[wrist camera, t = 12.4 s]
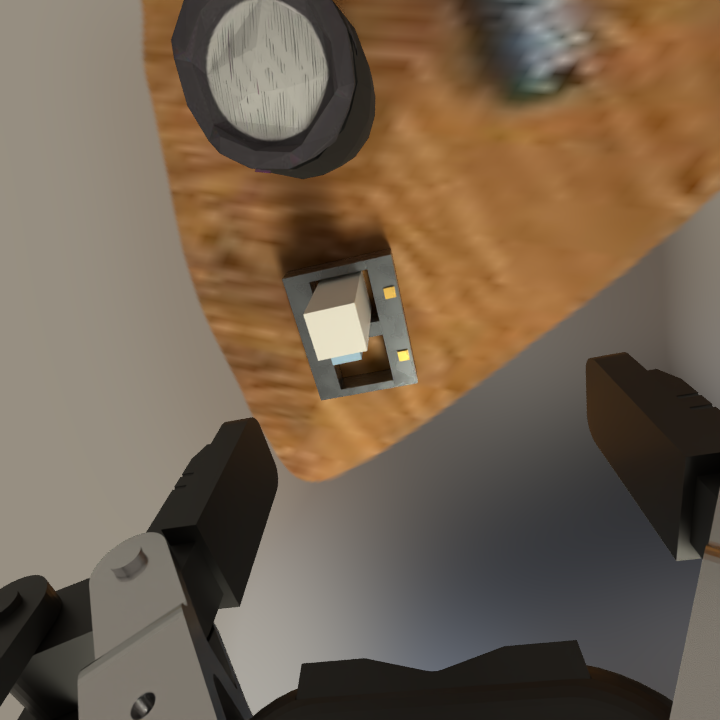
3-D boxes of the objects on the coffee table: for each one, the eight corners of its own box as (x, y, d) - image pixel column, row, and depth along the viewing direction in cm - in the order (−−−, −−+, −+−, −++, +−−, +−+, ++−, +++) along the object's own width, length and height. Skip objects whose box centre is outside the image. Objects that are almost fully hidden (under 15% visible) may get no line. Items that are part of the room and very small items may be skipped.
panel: (287, 271, 42) (281, 279, 40) (390, 248, 41) (391, 255, 38) (324, 388, 48) (320, 401, 45) (416, 371, 46) (418, 383, 44)
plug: (321, 277, 42) (303, 314, 34) (361, 268, 42) (354, 302, 33) (335, 326, 45) (322, 372, 36) (374, 317, 44) (370, 363, 35)
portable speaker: (331, 187, 39) (282, 226, 21) (246, 103, 36) (113, 68, 19) (402, 105, 36) (413, 72, 18) (314, 7, 33) (230, -140, 16)
